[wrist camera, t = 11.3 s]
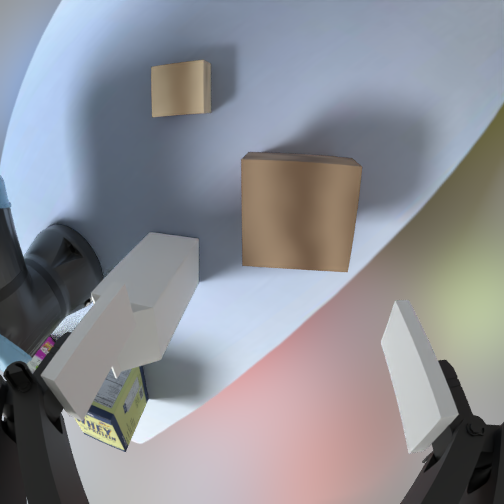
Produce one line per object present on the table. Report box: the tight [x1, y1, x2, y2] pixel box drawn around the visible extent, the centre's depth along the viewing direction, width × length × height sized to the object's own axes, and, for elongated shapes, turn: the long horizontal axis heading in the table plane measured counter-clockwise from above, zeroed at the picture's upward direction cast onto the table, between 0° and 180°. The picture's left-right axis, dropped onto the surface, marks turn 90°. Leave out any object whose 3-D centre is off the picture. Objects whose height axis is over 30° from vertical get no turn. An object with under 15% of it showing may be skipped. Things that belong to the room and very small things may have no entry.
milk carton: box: [91, 232, 199, 379], centre depth 32 cm, size 7×7×19 cm
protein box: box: [75, 366, 148, 452], centre depth 49 cm, size 10×16×16 cm
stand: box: [151, 60, 211, 117], centre depth 28 cm, size 6×6×3 cm
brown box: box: [241, 152, 362, 272], centre depth 27 cm, size 10×10×4 cm
